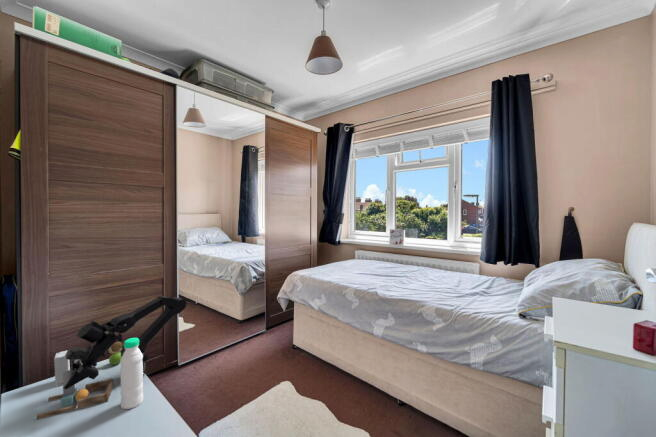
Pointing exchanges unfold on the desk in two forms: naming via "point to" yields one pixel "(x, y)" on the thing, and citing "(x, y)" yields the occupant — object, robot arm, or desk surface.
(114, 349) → the snail figurine
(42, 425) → the desk surface
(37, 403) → the desk surface
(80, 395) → the ball
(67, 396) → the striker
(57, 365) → the skincare box
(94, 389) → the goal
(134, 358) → the water bottle
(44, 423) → the desk surface
